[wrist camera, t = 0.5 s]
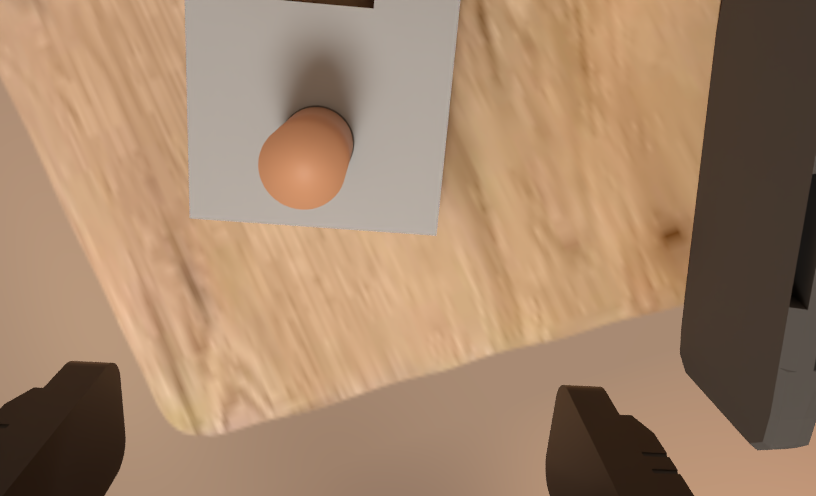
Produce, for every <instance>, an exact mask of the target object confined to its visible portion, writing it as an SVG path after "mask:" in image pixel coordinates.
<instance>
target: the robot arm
mask: <svg viewBox="0 0 816 496" xmlns="http://www.w3.org/2000/svg"><path fill="white" fill-rule="evenodd" d="M124 450H125V427H124V415H123V404H122V391H121V380H120V372H119V369H118V367H117V365H116V364H115V363H101V362H82V361H81V362H80V361H70V362H68V363H67V364H65V365H64V366H63V368H62V369H61V370H60V371H59V372H58V373H57V374H56V375H55V376H54V377H53V378H52V379H51V380H50V382H49V383H48V384H47V385H46V386H45V387H44V388H32V389H31V390H29V391H27V392H25V393H23V394H22V395H20V396H18V397H16V398H15V399H13V400H11V401H9V402H7V403H6V404H4V405H3V406H2V408H0V496H104V495H105V494H106V492H107V490H108V489H109V487H110V485H111V484H112V482H113V480H114V478H115V476H116V475H117V473H118V471H119V469H120V466H121V464H122V460H123V456H124ZM546 481H547V487H548V491H549V494H550V496H694V495H693V493H692V492H691V490H690V489H689V487H688V485H687V484H686V482H685V481H684V479H683V478H682V476H681V475H680V474H678V473H677V469H676V467H675V465H674V464H673V462H672V461H671V459H670V458H669V457H667V453H666V451H665V450H664V448H663V447H662V445H661V444H660V442H659V441H658V439H657V437H656V436H655V434H654V433H653V432H652V431H650V430H649V429H648V428H647V427H645V426H644V425H643V424H642V423H640V422H639V421H638V420H637V419H635V418H634V417H633V416H631V415H619V413H618V412H617V410H616V408H615V406H614V405H613V403H612V401H611V400H610V398H609V396H608V394H607V393H606V391H605V390H604V389H603V388H602V387H592V386H571V385H562V386H560V388H559V389H558V392H557V396H556V401H555V407H554V413H553V418H552V425H551V430H550V436H549V442H548V448H547V454H546Z"/></svg>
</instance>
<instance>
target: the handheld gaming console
mask: <svg viewBox="0 0 816 496" xmlns="http://www.w3.org/2000/svg"><path fill="white" fill-rule="evenodd" d="M680 355H681V358H682V362H683V365H684V368H685V371H686V373H687V374H688V375H689V377H690V378H691V379H692V380H693V381H694V382H695V383H696V384H697V385H698V387H699V388H700V389H701V390H702V391H703V392H704V393H705V394H706V396H707V397H708V398H709V399H710V400H711V401H712V402H713V403H714V404H715V406H716V407H717V408H718V409H719V410H720V411H721V412H722V413H723V414H724V416H725V417H726V418H727V419H728V420H729V421H730V422H731V423H732V425H733V426H734V427H735V428H736V429H737V430H738V431H739V432H740V433H741V435H742V436H743V437H744V438H745V439H746V440H747V441H748V442H749V443H750V444H751V445H752V446H753V447H754V448H755V449H757V450H772V449H788V448H797V447H801V446H805V445H808V444H809V441H810V438H811V435H812V432H813V429H814V426H815V423H816V0H722V4H721V10H720V16H719V21H718V27H717V33H716V40H715V48H714V57H713V65H712V74H711V82H710V91H709V99H708V108H707V116H706V124H705V133H704V141H703V150H702V158H701V167H700V175H699V183H698V192H697V200H696V209H695V217H694V226H693V234H692V243H691V251H690V259H689V268H688V276H687V285H686V293H685V302H684V310H683V318H682V329H681V345H680Z"/></svg>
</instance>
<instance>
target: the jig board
mask: <svg viewBox="0 0 816 496" xmlns="http://www.w3.org/2000/svg"><path fill="white" fill-rule="evenodd" d="M459 8H460V0H374V8H362V7H351V6H340V5H329V4H318V3H307V2H296V1H285V0H185V32H186V75H187V119H188V162H189V206H190V218H191V219H206V220H220V221H234V222H248V223H263V224H277V225H291V226H306V227H320V228H334V229H349V230H363V231H377V232H391V233H406V234H420V235H434V236H436V235H437V225H438V215H439V205H440V195H441V186H442V176H443V166H444V156H445V146H446V136H447V127H448V117H449V107H450V97H451V87H452V77H453V68H454V58H455V48H456V38H457V28H458V18H459Z"/></svg>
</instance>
